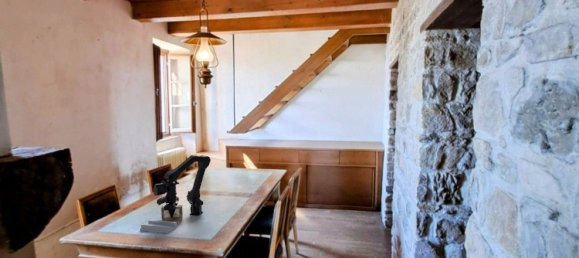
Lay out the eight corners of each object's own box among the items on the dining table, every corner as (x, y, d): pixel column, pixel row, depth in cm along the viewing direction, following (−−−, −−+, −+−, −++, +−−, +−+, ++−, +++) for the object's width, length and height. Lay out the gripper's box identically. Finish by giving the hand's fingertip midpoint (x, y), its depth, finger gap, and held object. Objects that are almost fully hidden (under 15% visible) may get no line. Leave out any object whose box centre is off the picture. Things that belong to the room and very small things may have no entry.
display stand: (177, 226, 188) (177, 221, 188) (167, 233, 178) (167, 228, 178) (151, 224, 192) (151, 218, 192) (140, 230, 183) (139, 225, 182)
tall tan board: (182, 218, 201) (182, 205, 200) (182, 220, 198) (181, 206, 197) (162, 220, 198) (162, 206, 197) (161, 222, 195) (161, 208, 194)
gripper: (160, 188, 204) (161, 212, 205) (154, 197, 186) (155, 223, 187) (178, 187, 206) (179, 211, 207) (174, 196, 188) (174, 221, 189)
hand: (172, 216), depth 198 cm, fingers closed on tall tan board, 3 cm apart
